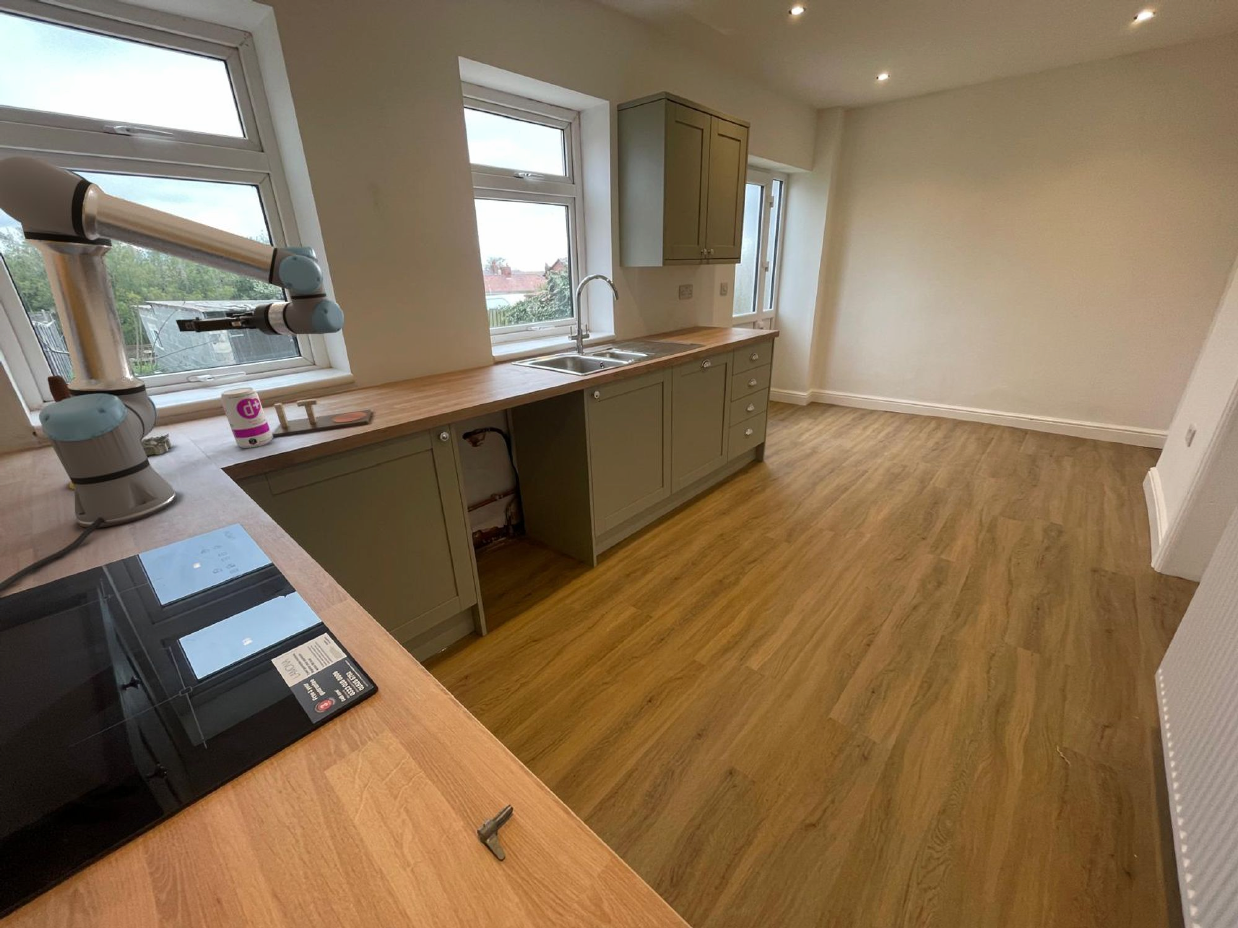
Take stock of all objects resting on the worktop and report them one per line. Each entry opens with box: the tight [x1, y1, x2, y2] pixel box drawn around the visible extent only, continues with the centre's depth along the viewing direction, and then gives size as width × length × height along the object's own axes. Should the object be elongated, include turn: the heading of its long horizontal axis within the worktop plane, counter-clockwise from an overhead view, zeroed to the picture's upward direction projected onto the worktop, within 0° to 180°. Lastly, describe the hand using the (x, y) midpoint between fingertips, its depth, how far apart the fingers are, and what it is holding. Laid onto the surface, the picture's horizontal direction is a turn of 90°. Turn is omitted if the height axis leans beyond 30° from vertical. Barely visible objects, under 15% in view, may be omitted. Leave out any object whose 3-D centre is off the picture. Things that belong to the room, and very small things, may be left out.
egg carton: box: [140, 433, 173, 457], centre depth 136 cm, size 11×8×4 cm
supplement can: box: [219, 387, 273, 449], centre depth 137 cm, size 8×8×15 cm
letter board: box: [271, 398, 372, 438], centre depth 152 cm, size 13×25×8 cm, turn 111°
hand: (204, 321), depth 125 cm, fingers open, 13 cm apart
